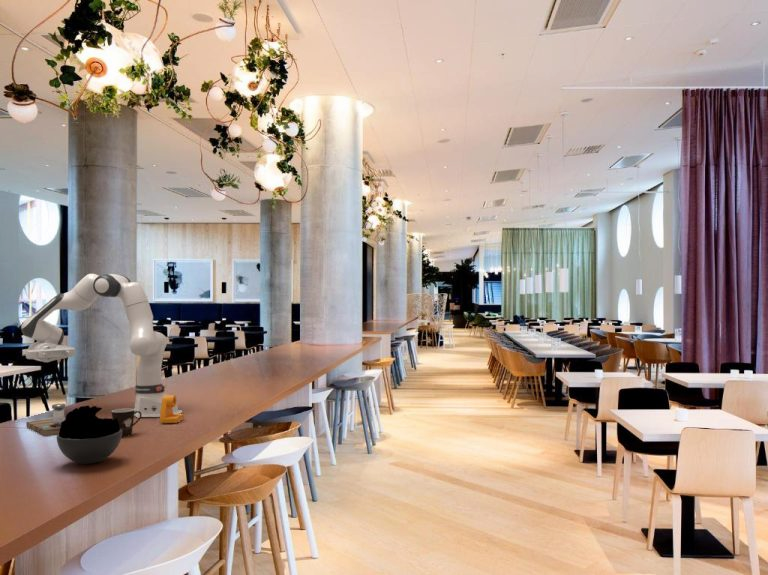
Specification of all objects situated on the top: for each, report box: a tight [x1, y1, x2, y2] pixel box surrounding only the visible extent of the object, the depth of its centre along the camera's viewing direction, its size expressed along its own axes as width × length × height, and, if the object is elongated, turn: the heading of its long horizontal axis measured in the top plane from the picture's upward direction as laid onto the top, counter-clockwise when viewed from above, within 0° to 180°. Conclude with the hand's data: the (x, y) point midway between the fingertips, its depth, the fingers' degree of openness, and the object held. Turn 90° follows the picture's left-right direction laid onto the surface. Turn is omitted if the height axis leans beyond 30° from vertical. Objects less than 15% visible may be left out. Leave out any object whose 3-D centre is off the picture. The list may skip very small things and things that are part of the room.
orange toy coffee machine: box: [159, 394, 185, 424], centre depth 278 cm, size 11×7×12 cm, turn 179°
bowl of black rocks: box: [56, 405, 123, 465], centre depth 210 cm, size 20×20×19 cm
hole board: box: [25, 418, 66, 437], centre depth 263 cm, size 24×14×3 cm, turn 45°
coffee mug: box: [111, 407, 142, 437], centre depth 252 cm, size 12×9×10 cm
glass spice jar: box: [51, 403, 67, 428], centre depth 259 cm, size 5×5×11 cm
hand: (56, 354), depth 282 cm, fingers open, 8 cm apart
